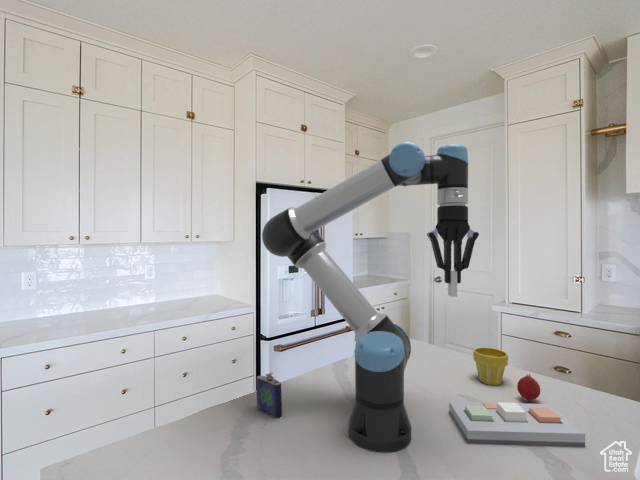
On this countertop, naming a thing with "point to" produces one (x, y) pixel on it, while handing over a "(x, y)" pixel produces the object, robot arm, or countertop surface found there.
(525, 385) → the onion
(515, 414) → the key offwhite
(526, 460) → the countertop surface
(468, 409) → the key sage
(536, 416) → the key terracotta
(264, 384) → the flask
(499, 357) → the plant pot
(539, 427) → the keypad
